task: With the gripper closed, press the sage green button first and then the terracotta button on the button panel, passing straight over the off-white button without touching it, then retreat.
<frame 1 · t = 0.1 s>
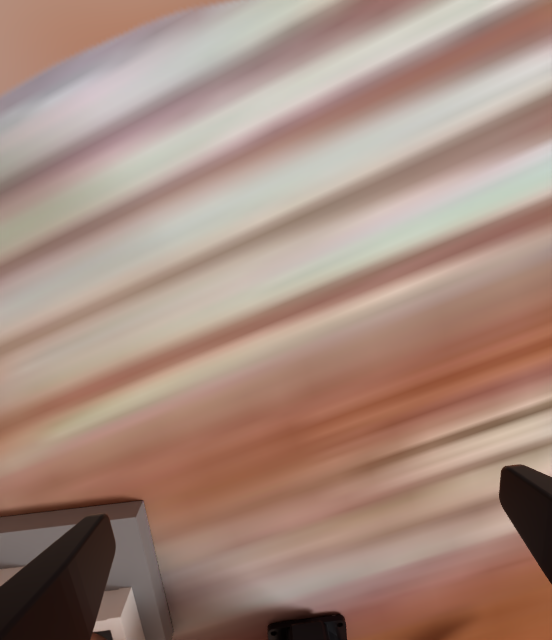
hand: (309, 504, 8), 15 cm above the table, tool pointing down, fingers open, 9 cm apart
button panel: (16, 587, 26), on the table
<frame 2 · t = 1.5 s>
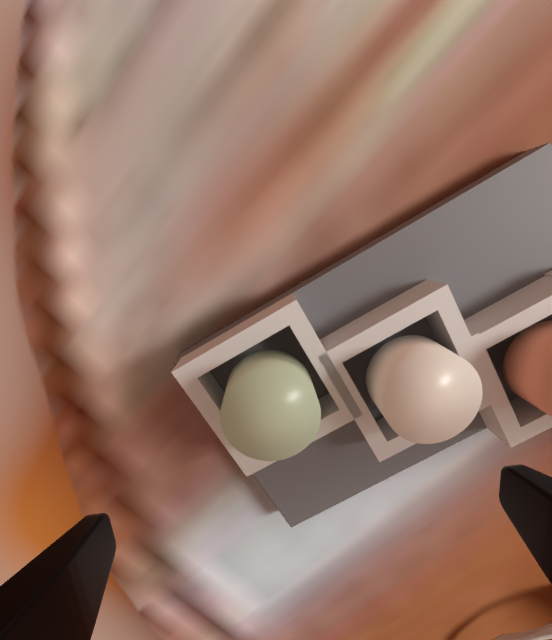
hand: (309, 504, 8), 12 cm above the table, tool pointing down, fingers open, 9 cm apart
button panel: (393, 351, 20), on the table
white button: (419, 386, 16), point 4 cm above the table, slide at 0.0 cm
sage button: (270, 402, 16), point 4 cm above the table, slide at 0.0 cm
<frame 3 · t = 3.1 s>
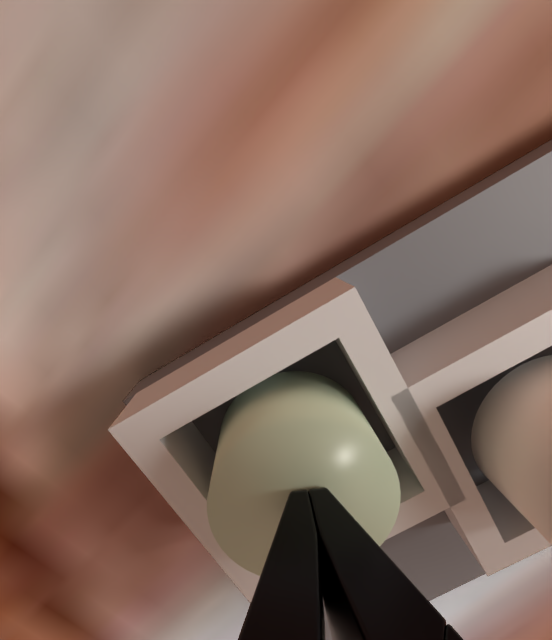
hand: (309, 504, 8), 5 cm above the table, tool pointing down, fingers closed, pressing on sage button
button panel: (489, 374, 12), on the table
sage button: (298, 467, 9), point 4 cm above the table, slide at 0.9 cm, touching gripper
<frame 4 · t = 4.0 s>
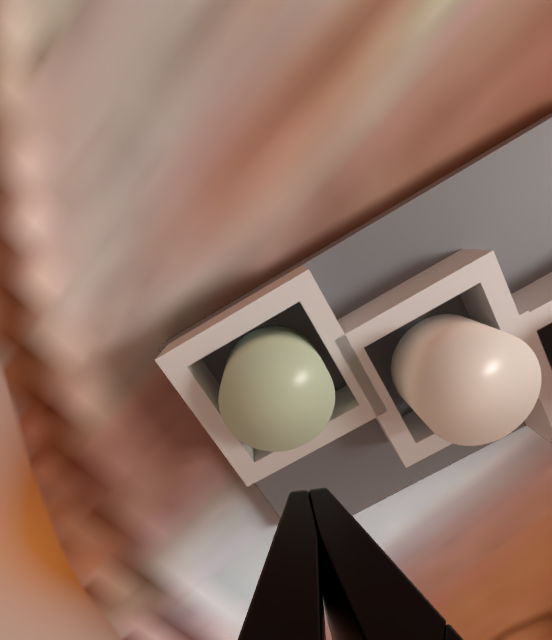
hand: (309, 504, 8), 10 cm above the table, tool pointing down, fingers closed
button panel: (417, 337, 17), on the table
white button: (459, 376, 13), point 4 cm above the table, slide at 0.0 cm
sage button: (275, 385, 14), point 3 cm above the table, slide at 1.0 cm
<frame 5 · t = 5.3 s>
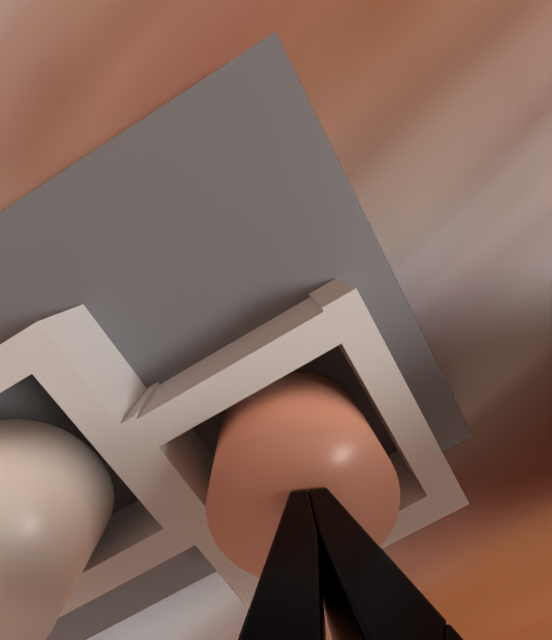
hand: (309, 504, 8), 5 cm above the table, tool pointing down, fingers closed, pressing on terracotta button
terracotta button: (297, 468, 9), point 3 cm above the table, slide at 1.0 cm, touching gripper
button panel: (98, 421, 12), on the table
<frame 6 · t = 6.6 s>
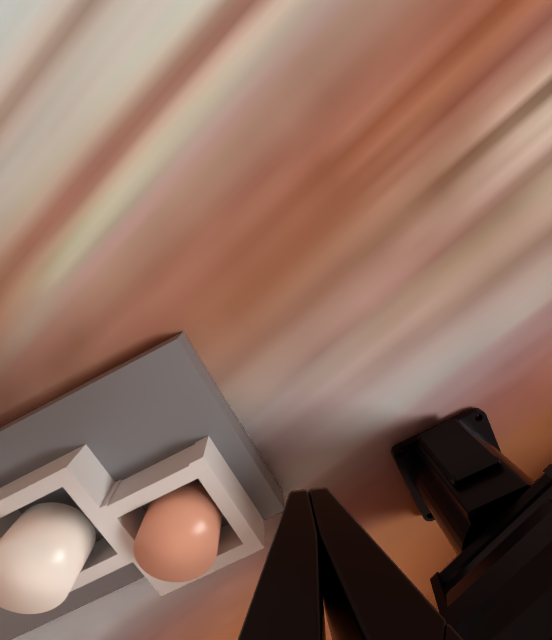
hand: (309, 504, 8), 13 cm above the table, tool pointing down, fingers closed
terracotta button: (181, 529, 19), point 3 cm above the table, slide at 1.0 cm
button panel: (90, 491, 22), on the table
white button: (41, 555, 18), point 4 cm above the table, slide at 0.0 cm
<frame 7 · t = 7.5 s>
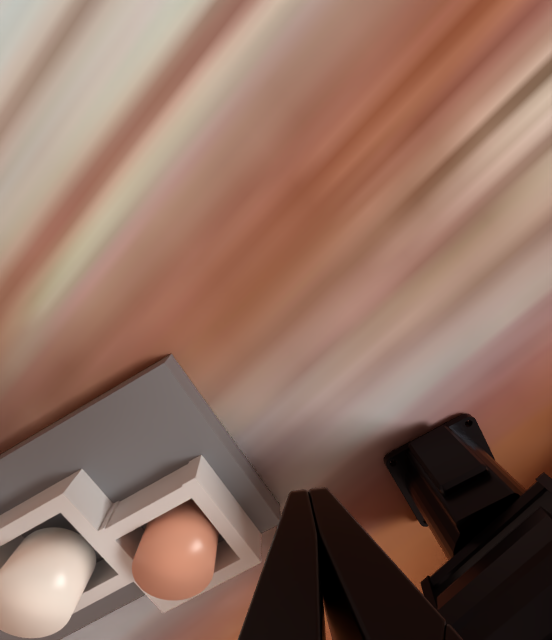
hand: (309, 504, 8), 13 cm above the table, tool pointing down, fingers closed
terracotta button: (178, 547, 19), point 3 cm above the table, slide at 1.0 cm
button panel: (90, 512, 22), on the table
white button: (43, 580, 18), point 4 cm above the table, slide at 0.0 cm
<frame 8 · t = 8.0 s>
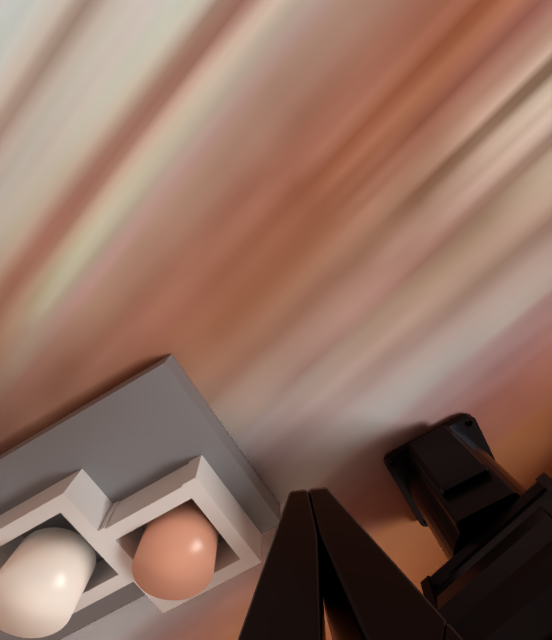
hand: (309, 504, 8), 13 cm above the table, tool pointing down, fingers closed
terracotta button: (178, 547, 19), point 3 cm above the table, slide at 1.0 cm
button panel: (90, 512, 22), on the table
white button: (43, 580, 18), point 4 cm above the table, slide at 0.0 cm
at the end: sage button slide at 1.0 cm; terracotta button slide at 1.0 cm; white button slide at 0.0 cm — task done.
